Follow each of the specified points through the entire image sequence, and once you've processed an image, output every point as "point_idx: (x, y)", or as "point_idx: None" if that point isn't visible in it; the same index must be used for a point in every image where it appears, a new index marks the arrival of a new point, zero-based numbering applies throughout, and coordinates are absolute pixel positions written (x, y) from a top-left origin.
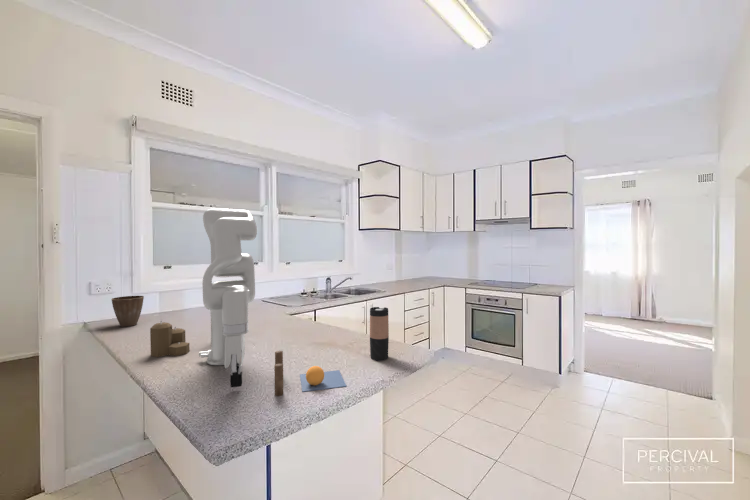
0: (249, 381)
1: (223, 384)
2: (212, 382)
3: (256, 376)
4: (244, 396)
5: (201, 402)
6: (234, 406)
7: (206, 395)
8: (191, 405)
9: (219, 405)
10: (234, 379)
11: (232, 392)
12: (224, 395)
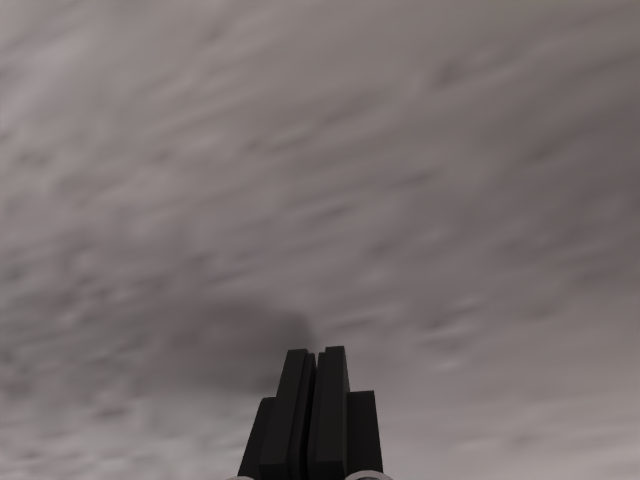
0: (518, 431)
1: (518, 202)
2: (635, 40)
3: (631, 471)
4: (200, 437)
5: (93, 107)
6: (37, 399)
7: (250, 101)
8: (28, 22)
9: (45, 290)
10: (251, 458)
11: (289, 335)
12: (233, 282)
